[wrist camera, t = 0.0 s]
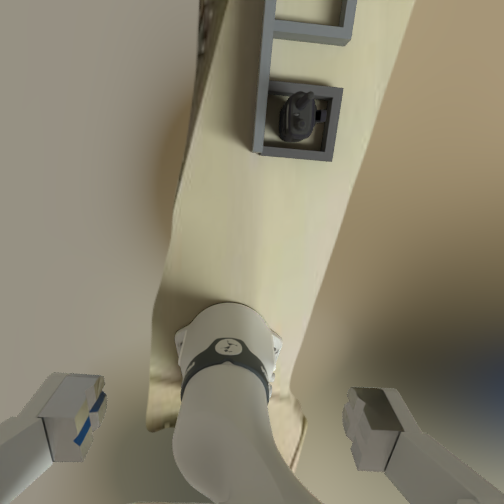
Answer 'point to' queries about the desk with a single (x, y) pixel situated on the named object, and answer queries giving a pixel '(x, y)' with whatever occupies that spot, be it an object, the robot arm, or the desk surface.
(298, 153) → the grey rectangular frame
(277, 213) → the desk surface
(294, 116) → the two-way radio
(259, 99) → the dock
